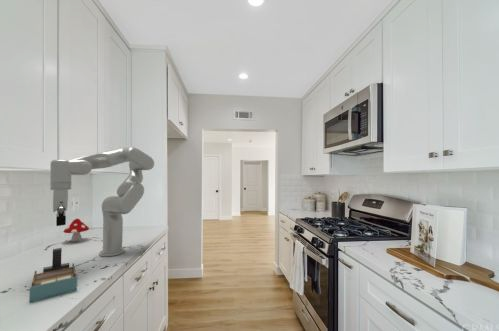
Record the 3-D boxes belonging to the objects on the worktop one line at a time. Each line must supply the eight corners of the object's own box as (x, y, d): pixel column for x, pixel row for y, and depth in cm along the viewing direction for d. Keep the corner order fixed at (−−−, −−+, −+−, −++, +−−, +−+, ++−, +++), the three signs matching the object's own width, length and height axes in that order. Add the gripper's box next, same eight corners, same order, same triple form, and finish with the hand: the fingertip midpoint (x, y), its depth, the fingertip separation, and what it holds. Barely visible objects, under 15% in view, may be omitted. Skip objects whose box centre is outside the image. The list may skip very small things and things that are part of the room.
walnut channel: (34, 279, 97) (35, 270, 97) (73, 271, 105) (73, 263, 105) (31, 292, 86) (31, 283, 86) (75, 282, 94) (75, 273, 94)
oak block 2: (57, 276, 89) (57, 280, 86) (70, 274, 91) (70, 277, 88) (57, 287, 89) (56, 291, 86) (70, 284, 91) (70, 288, 88)
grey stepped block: (43, 273, 103) (44, 250, 103) (69, 268, 109) (69, 246, 109) (43, 275, 101) (43, 252, 101) (69, 270, 106) (69, 248, 107)
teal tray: (31, 293, 85) (32, 279, 85) (75, 282, 94) (75, 270, 94) (29, 302, 79) (29, 287, 79) (76, 290, 87) (77, 276, 87)
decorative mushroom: (81, 237, 162) (82, 216, 162) (94, 239, 156) (94, 217, 157) (58, 243, 149) (59, 219, 149) (71, 245, 143) (72, 221, 144)
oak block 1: (41, 280, 86) (40, 284, 83) (55, 277, 88) (55, 281, 85) (41, 291, 86) (40, 295, 83) (55, 288, 88) (55, 292, 85)
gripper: (51, 186, 111) (50, 221, 111) (49, 187, 98) (49, 228, 97) (70, 185, 116) (70, 219, 116) (72, 186, 103) (72, 225, 102)
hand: (61, 223), depth 107 cm, fingers open, 9 cm apart
